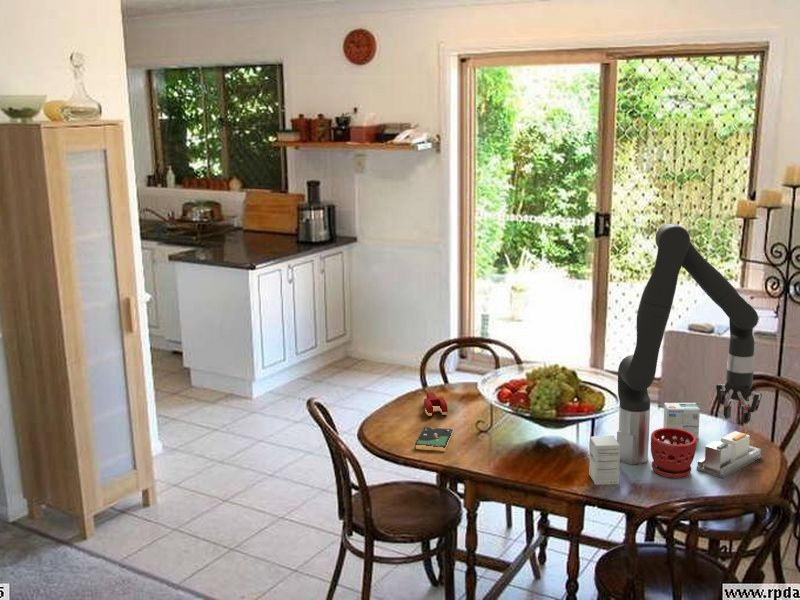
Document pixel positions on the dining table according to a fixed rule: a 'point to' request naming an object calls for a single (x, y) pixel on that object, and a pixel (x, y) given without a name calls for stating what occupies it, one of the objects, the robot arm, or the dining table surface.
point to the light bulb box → (682, 417)
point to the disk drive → (434, 437)
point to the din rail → (724, 459)
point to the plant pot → (672, 452)
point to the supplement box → (604, 460)
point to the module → (737, 444)
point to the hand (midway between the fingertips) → (736, 420)
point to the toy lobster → (434, 403)
